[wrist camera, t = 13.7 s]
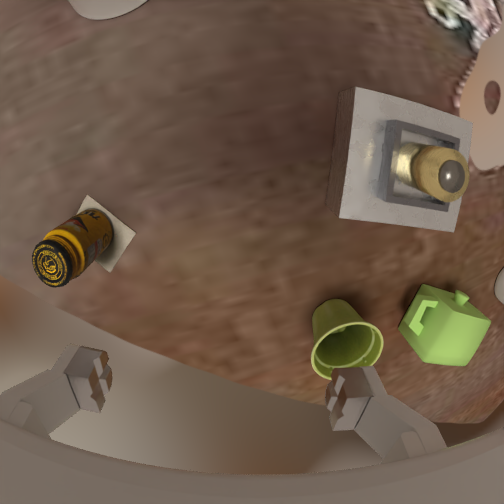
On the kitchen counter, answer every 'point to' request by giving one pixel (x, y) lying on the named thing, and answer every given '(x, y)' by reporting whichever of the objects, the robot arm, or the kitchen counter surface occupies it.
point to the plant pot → (342, 338)
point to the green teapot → (443, 326)
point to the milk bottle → (500, 286)
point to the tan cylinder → (433, 170)
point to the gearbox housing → (388, 159)
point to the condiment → (81, 244)
